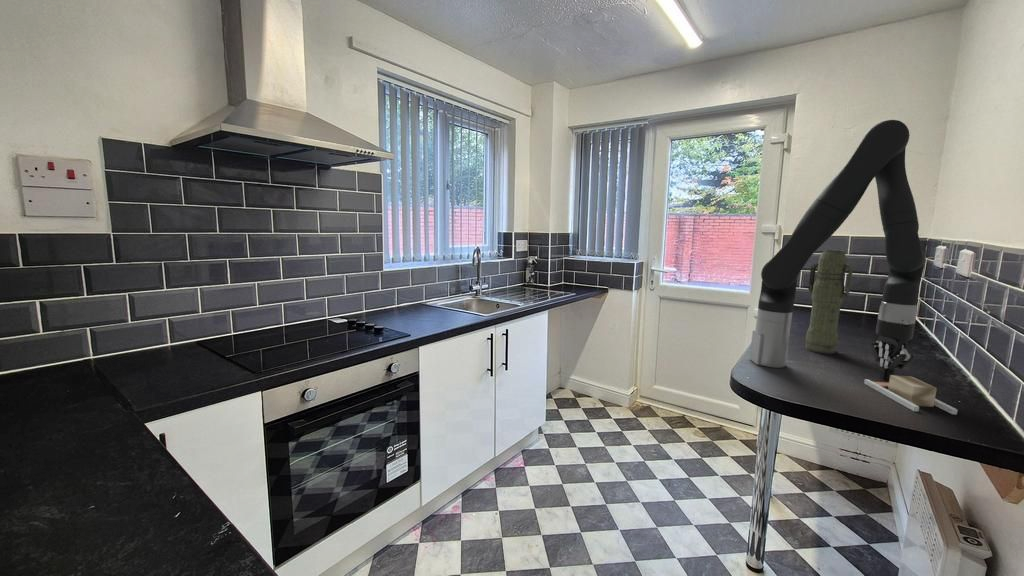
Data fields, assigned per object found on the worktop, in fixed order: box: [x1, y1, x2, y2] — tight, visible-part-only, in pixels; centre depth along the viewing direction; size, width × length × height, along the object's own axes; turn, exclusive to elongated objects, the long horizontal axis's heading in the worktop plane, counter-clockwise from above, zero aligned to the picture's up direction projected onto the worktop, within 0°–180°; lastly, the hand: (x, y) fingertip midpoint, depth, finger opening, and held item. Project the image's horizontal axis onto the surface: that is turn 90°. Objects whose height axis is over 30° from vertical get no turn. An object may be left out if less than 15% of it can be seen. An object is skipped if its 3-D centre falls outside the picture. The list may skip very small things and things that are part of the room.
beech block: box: [887, 374, 937, 408], centre depth 108 cm, size 5×8×5 cm, turn 171°
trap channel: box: [863, 378, 958, 416], centre depth 110 cm, size 9×19×1 cm, turn 171°
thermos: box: [805, 249, 854, 355], centre depth 148 cm, size 9×12×35 cm
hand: (885, 380), depth 117 cm, fingers closed
